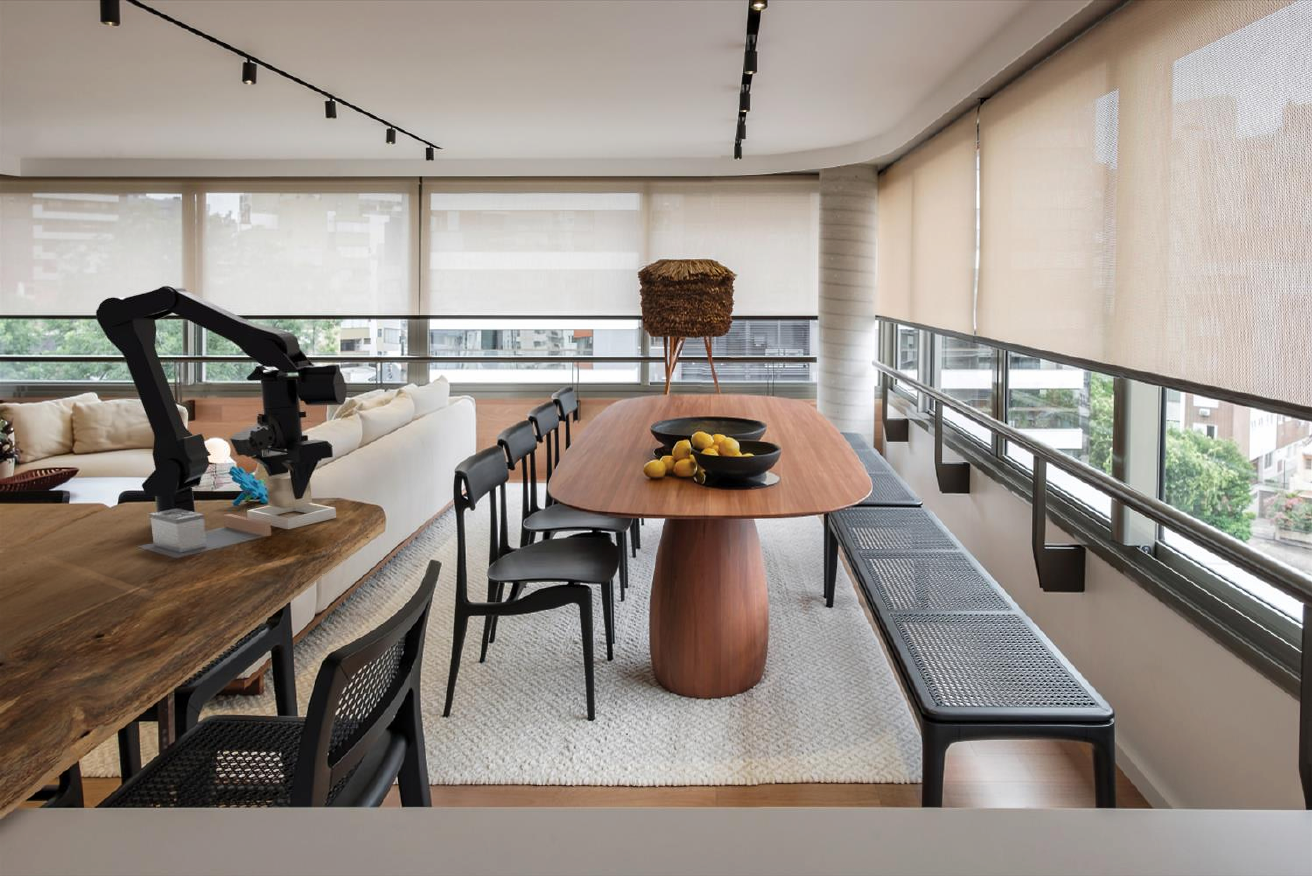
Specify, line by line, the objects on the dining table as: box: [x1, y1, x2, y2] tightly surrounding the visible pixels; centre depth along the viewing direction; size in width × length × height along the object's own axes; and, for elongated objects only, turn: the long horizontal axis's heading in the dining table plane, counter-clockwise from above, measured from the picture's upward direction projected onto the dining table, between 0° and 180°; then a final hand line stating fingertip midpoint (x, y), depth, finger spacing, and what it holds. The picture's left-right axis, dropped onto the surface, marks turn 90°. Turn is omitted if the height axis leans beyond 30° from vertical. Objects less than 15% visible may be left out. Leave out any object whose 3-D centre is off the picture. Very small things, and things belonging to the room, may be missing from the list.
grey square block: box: [149, 508, 207, 553], centre depth 136 cm, size 8×4×5 cm, turn 54°
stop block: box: [265, 471, 313, 509], centre depth 151 cm, size 5×5×5 cm
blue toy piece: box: [228, 465, 268, 507], centre depth 168 cm, size 11×6×10 cm
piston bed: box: [137, 513, 272, 559], centre depth 139 cm, size 12×15×3 cm
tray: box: [246, 502, 337, 530], centre depth 152 cm, size 12×9×2 cm
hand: (289, 497), depth 152 cm, fingers closed on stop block, 5 cm apart
